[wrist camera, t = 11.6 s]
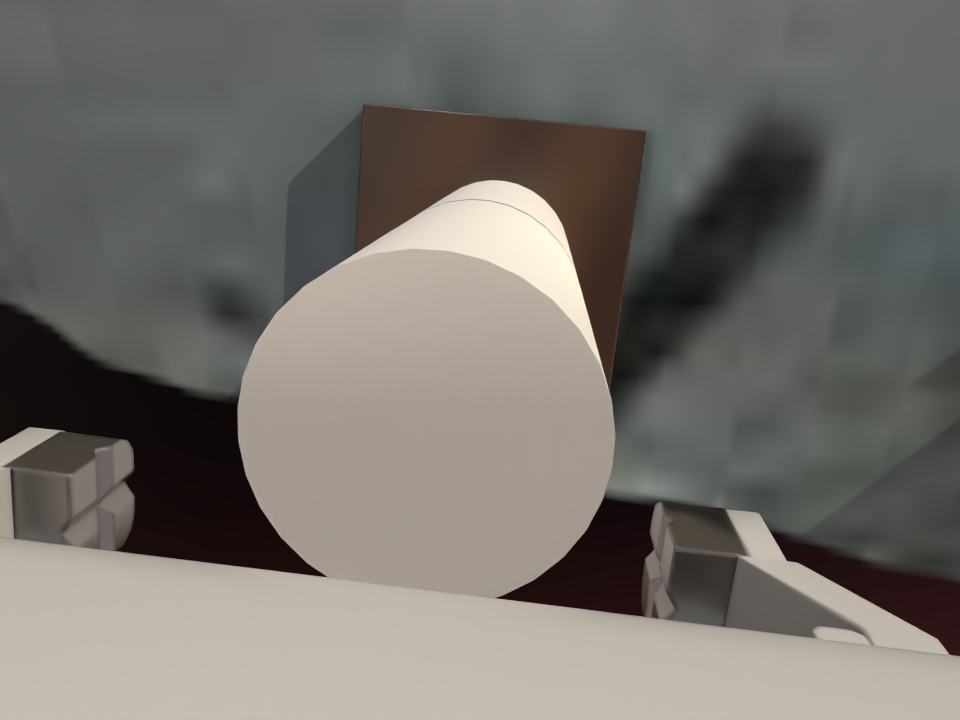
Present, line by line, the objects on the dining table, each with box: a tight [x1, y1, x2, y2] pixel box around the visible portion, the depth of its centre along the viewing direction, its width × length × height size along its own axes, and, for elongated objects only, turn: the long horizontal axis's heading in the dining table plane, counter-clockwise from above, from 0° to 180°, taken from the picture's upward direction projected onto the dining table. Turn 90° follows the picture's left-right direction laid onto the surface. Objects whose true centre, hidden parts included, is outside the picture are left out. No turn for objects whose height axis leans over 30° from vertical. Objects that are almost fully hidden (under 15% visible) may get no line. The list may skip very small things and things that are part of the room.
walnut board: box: [355, 104, 646, 390], centre depth 40 cm, size 13×13×1 cm
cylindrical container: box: [238, 180, 615, 598], centre depth 28 cm, size 7×7×25 cm
